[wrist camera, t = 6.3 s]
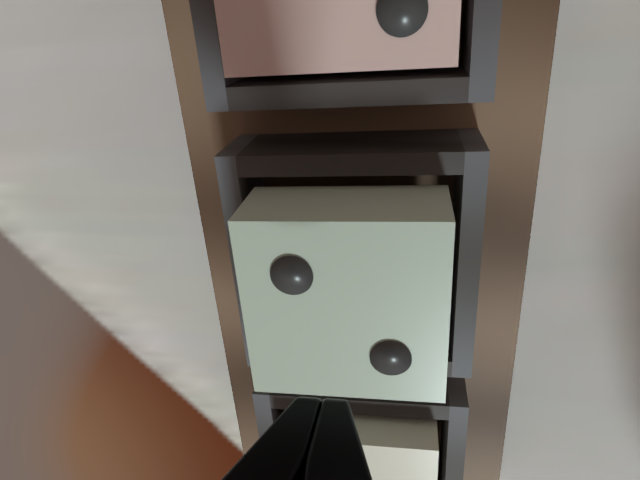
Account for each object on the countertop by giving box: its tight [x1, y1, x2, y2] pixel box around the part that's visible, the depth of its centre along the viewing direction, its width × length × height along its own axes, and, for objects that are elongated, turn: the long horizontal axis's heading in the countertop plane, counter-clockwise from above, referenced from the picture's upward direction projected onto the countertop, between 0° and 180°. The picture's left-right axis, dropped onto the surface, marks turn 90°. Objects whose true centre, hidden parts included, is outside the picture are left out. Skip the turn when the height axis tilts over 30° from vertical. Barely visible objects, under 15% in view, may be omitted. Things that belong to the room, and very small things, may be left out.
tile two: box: [228, 185, 455, 403], centre depth 11 cm, size 4×4×2 cm
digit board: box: [161, 0, 560, 480], centre depth 14 cm, size 22×9×4 cm, turn 4°
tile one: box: [284, 409, 439, 480], centre depth 15 cm, size 4×4×2 cm
